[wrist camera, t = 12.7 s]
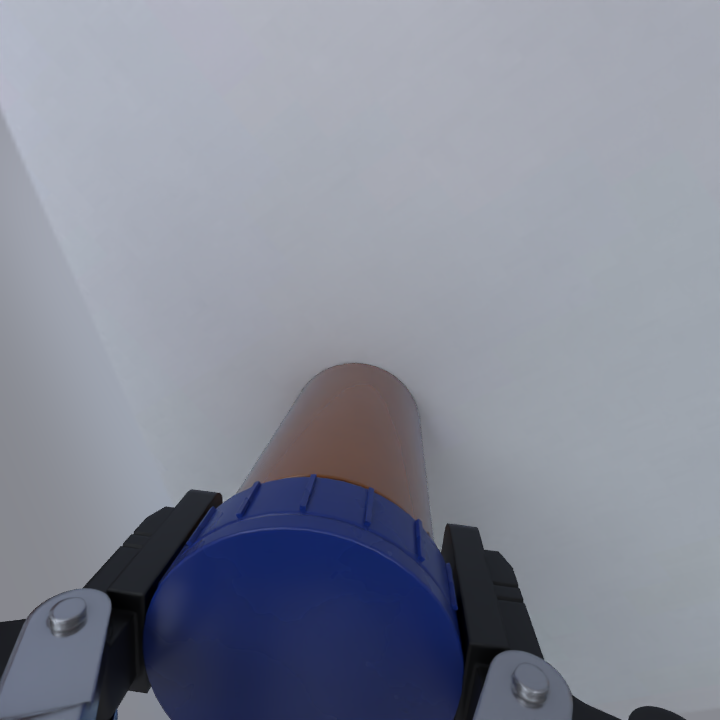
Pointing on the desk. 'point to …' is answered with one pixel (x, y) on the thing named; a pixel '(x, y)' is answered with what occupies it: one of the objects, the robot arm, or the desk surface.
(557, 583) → the desk surface
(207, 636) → the lid
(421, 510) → the jar
